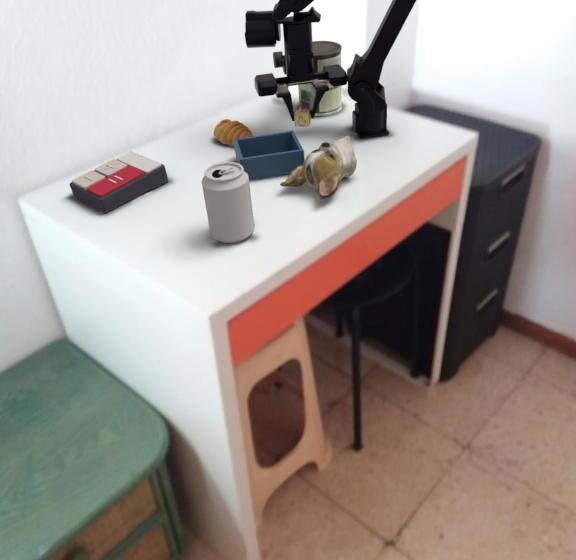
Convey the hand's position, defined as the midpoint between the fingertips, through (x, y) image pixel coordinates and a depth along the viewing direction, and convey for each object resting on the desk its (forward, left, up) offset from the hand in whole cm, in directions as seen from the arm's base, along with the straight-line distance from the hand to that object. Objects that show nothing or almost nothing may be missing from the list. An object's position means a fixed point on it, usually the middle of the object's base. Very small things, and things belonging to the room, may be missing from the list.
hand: (302, 119), depth 131 cm
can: (+20, +36, -4) cm, 41 cm away
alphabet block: (0, 0, -1) cm, 1 cm away
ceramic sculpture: (+1, +25, -4) cm, 25 cm away
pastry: (+15, -2, -4) cm, 16 cm away
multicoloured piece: (+39, +14, -4) cm, 42 cm away
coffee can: (-7, -13, -4) cm, 15 cm away
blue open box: (+10, +13, -3) cm, 17 cm away
